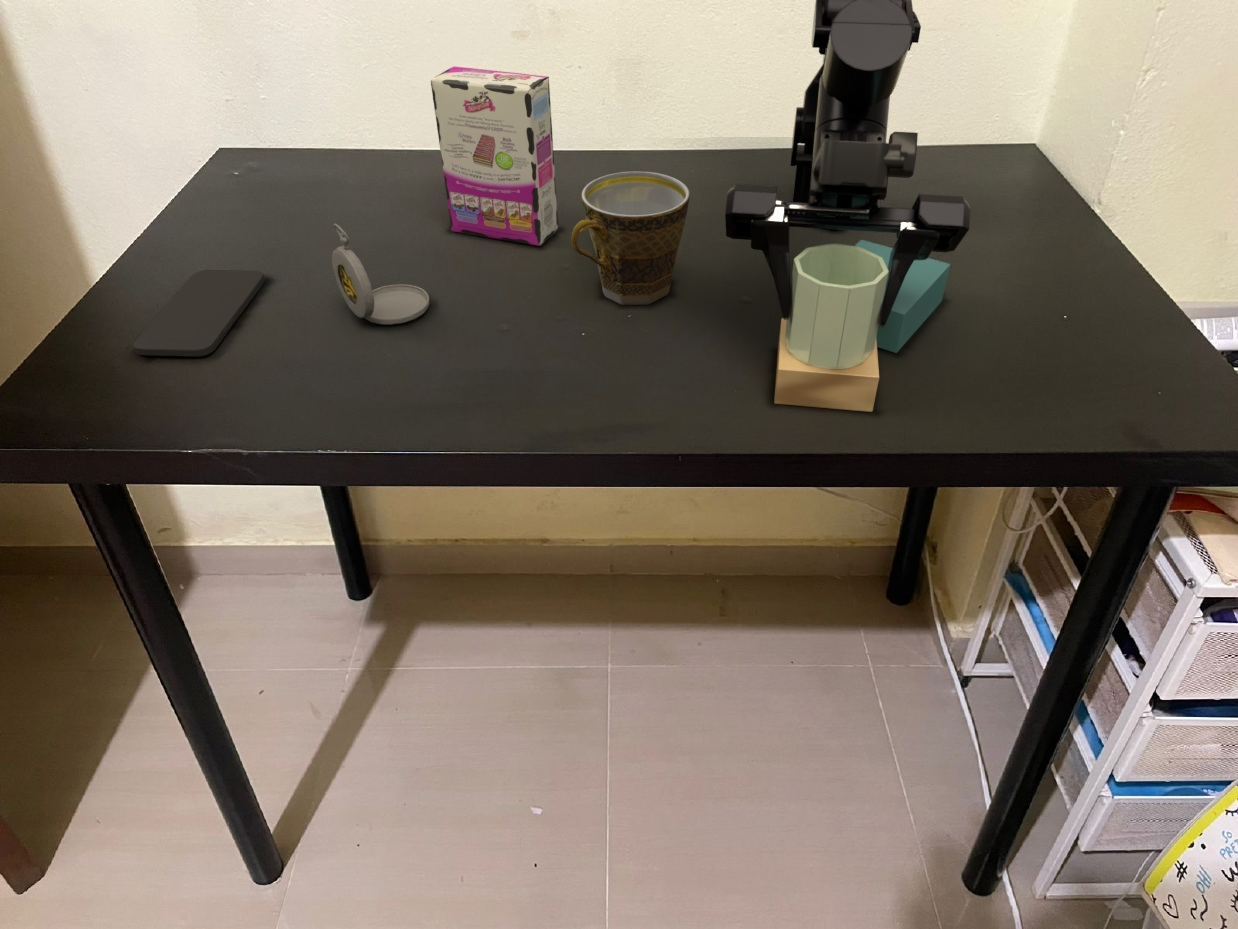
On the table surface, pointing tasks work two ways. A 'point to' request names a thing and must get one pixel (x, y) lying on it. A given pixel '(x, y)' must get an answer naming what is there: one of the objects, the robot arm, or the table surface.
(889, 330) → the box
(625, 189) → the ceramic cup
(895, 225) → the robot arm
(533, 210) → the candy bar box
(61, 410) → the table surface
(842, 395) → the tan block
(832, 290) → the pale green faceted cup
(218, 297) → the phone
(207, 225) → the table surface
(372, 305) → the pocket watch
